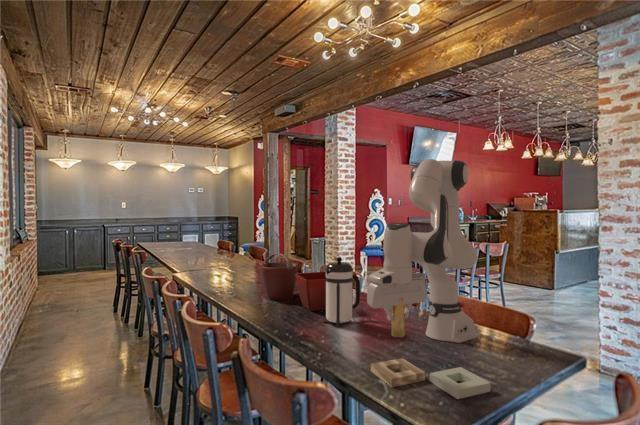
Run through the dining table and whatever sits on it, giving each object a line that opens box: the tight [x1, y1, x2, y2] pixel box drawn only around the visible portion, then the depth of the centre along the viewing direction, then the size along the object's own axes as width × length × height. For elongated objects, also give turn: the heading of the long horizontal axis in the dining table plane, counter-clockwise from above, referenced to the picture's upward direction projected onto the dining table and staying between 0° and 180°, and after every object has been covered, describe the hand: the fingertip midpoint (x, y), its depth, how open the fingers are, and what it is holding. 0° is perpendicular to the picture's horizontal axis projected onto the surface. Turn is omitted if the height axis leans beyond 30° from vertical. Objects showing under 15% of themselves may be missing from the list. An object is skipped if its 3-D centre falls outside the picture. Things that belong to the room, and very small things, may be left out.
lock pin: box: [390, 298, 405, 338], centre depth 123 cm, size 4×4×12 cm
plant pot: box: [295, 271, 326, 312], centre depth 206 cm, size 19×19×17 cm
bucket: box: [259, 253, 299, 301], centre depth 230 cm, size 24×22×25 cm
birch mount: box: [370, 357, 426, 388], centre depth 123 cm, size 12×12×2 cm
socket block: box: [429, 366, 491, 400], centre depth 116 cm, size 12×12×2 cm
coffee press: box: [322, 256, 361, 328], centre depth 180 cm, size 17×16×30 cm
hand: (397, 318), depth 123 cm, fingers closed on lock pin, 4 cm apart
